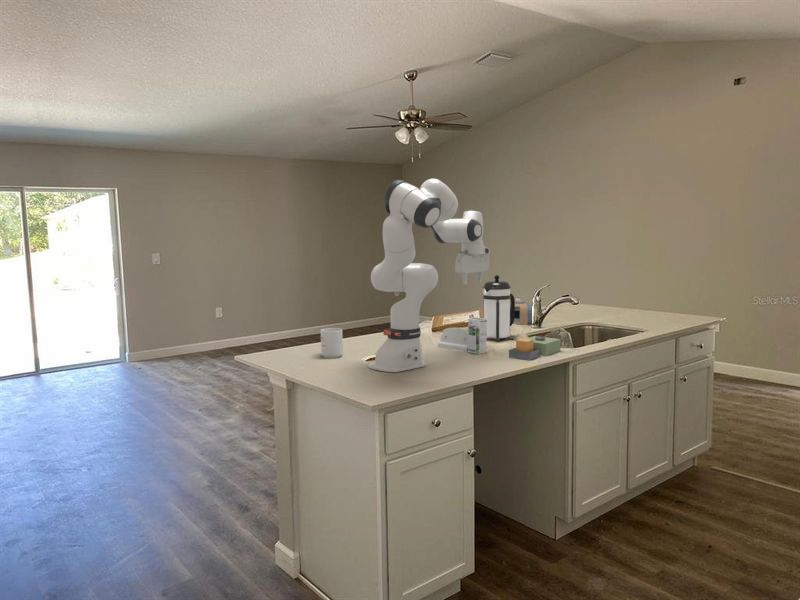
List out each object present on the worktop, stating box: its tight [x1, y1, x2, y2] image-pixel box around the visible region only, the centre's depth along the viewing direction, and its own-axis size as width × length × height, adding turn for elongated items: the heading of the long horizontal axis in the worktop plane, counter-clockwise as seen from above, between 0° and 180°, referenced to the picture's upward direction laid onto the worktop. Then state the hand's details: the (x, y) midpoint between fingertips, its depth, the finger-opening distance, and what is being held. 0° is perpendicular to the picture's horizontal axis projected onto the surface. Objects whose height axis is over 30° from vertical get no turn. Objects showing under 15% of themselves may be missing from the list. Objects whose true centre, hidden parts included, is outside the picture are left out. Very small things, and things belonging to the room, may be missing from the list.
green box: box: [526, 335, 561, 357], centre depth 253 cm, size 13×12×6 cm
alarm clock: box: [510, 300, 533, 326], centre depth 327 cm, size 19×20×12 cm
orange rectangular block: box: [515, 337, 533, 352], centre depth 243 cm, size 5×5×7 cm
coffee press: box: [482, 274, 516, 343], centre depth 281 cm, size 17×16×30 cm
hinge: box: [436, 326, 468, 353], centre depth 263 cm, size 17×5×10 cm, turn 47°
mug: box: [320, 327, 344, 359], centre depth 250 cm, size 12×9×11 cm
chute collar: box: [508, 347, 541, 361], centre depth 244 cm, size 9×9×3 cm
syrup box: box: [467, 317, 488, 355], centre depth 253 cm, size 6×6×14 cm
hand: (472, 283), depth 252 cm, fingers open, 8 cm apart
